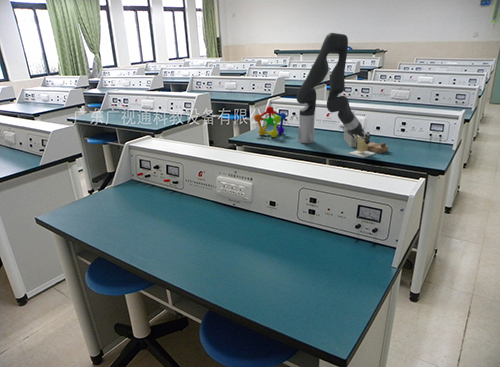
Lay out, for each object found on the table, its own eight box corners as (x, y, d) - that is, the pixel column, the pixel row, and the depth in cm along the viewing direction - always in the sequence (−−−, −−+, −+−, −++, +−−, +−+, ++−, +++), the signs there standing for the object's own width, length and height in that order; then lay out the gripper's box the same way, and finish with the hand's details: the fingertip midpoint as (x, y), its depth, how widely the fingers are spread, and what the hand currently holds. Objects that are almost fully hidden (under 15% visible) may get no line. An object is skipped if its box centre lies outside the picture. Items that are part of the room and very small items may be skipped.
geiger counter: (359, 124, 208) (349, 115, 231) (348, 124, 208) (339, 115, 231) (357, 147, 213) (348, 136, 236) (347, 147, 213) (338, 137, 236)
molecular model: (251, 134, 250) (252, 105, 243) (264, 132, 261) (265, 104, 255) (277, 139, 238) (279, 108, 232) (289, 136, 250) (291, 107, 243)
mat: (348, 153, 202) (348, 152, 201) (360, 150, 207) (360, 149, 207) (363, 157, 194) (363, 156, 194) (375, 154, 199) (375, 153, 199)
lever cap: (356, 150, 200) (357, 136, 197) (361, 149, 202) (362, 135, 199) (362, 152, 197) (363, 137, 194) (367, 150, 199) (368, 136, 196)
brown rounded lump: (362, 149, 209) (363, 140, 207) (370, 147, 212) (370, 138, 210) (380, 153, 199) (381, 145, 197) (388, 151, 203) (389, 142, 201)
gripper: (366, 119, 183) (379, 139, 194) (344, 116, 194) (358, 134, 205) (359, 131, 182) (372, 150, 193) (337, 127, 193) (351, 145, 204)
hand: (364, 142), depth 199 cm, fingers closed on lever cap, 4 cm apart
